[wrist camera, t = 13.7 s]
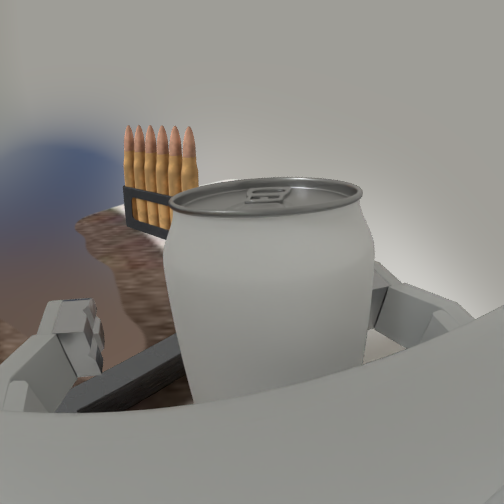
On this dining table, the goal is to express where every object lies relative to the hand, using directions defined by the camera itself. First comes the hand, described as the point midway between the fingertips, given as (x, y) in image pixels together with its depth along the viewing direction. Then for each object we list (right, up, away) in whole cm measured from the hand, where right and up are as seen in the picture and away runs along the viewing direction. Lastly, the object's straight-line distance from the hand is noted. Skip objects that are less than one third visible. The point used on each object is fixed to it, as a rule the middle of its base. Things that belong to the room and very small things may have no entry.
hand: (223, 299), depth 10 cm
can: (+2, -8, +3) cm, 9 cm away
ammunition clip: (-9, +3, +24) cm, 26 cm away
